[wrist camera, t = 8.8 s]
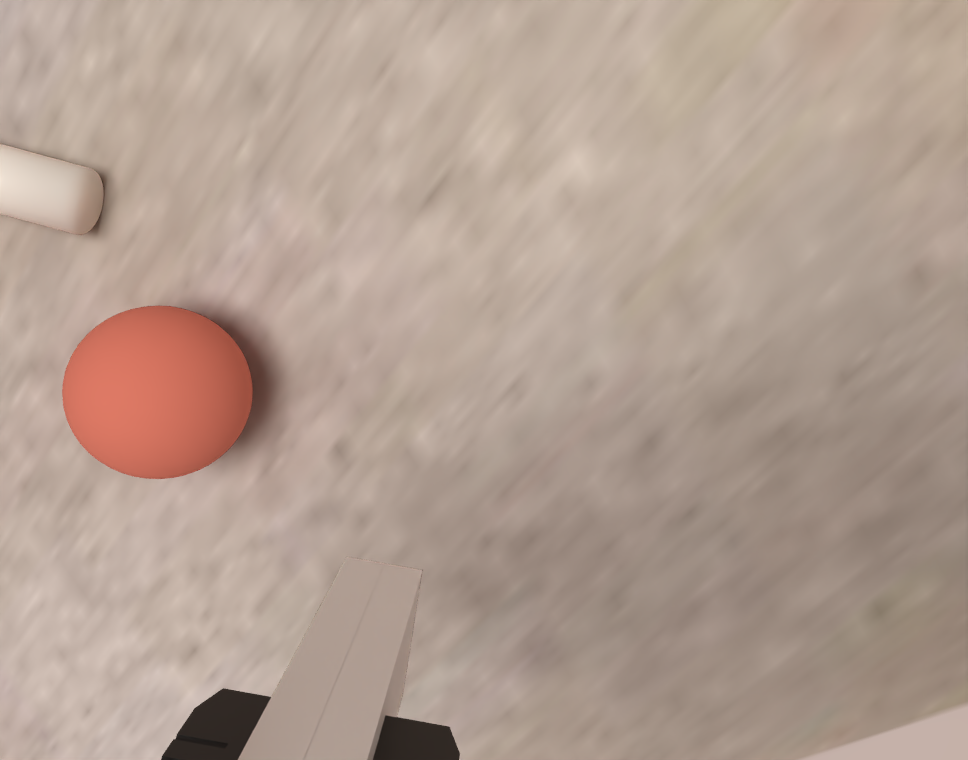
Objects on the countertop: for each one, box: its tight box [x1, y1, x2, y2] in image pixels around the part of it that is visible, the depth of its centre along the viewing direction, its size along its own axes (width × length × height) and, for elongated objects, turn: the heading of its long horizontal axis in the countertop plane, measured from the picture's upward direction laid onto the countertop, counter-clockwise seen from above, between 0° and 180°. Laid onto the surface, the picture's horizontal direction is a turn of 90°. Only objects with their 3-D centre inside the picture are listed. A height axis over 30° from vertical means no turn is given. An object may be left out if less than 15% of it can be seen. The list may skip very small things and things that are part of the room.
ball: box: [62, 306, 253, 479], centre depth 25 cm, size 6×6×6 cm
